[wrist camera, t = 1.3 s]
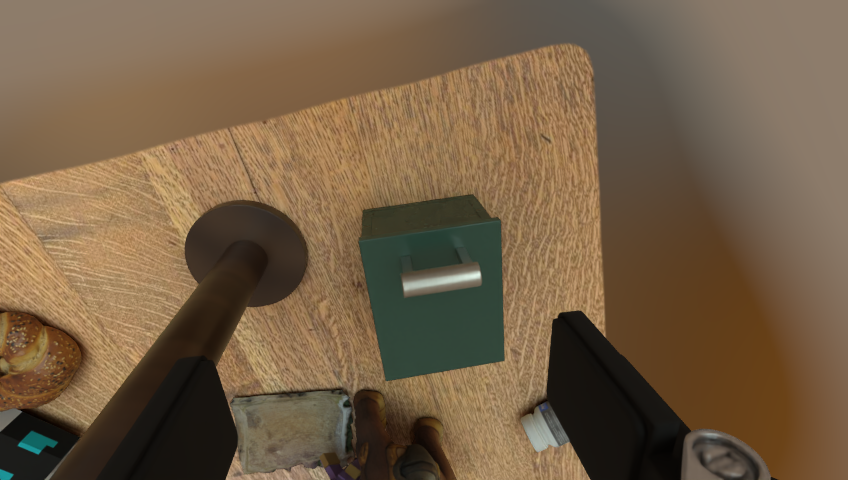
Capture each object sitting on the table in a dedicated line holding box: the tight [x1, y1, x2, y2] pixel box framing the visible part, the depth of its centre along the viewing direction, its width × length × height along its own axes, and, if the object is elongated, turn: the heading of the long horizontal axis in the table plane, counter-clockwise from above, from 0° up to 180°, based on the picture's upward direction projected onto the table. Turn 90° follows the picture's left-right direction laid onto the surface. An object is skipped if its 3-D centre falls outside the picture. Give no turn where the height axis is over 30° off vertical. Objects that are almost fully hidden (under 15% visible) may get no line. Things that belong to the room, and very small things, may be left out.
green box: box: [361, 194, 491, 237], centre depth 35 cm, size 12×10×8 cm
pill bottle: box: [521, 401, 570, 452], centre depth 46 cm, size 5×5×8 cm
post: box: [49, 200, 307, 480], centre depth 23 cm, size 10×10×28 cm
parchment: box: [230, 390, 356, 474], centre depth 45 cm, size 12×13×1 cm
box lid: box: [358, 217, 505, 381], centre depth 29 cm, size 13×10×5 cm
